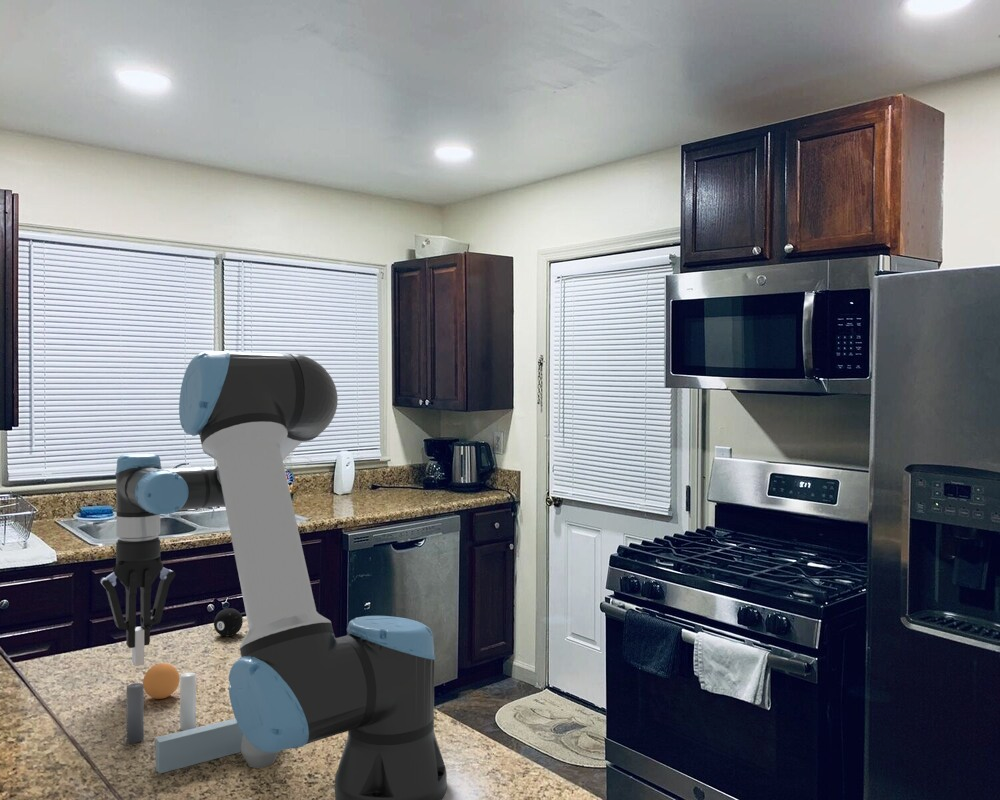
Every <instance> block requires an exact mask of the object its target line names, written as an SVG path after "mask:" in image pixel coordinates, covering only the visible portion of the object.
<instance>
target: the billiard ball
mask: <svg viewBox="0 0 1000 800" xmlns="http://www.w3.org/2000/svg"><path fill="white" fill-rule="evenodd" d="M243 619H244V618H243V615H242V614H241V612H240V611H239V610H237V609H236V608H232V607H231V608H229V607H228V608H224V609H222V610H220V611H218V613H217V614H216V616H215V617H214V619H213V620H214V621H213V626H214V627H213V628H214V630H215V632H216V633H217V634H218V635H220V636H223V637H231V636H234V635H236V634H237V633H240V630H241V628H242V627H243V623H244V622H243V621H244V620H243Z"/></svg>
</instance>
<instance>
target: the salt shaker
mask: <svg viewBox="0 0 1000 800" xmlns="http://www.w3.org/2000/svg"><path fill="white" fill-rule="evenodd" d="M240 753H241V755H242V757H243V758H244V760H245V762H246V763H247V765H248V767H249V768H256V769H263V768H267V767H269V766H272V765H273V764H274V763H275V761H276V759H277V757H278V755H279V753H280V751H278V752H274V753H267V752H263V751H261V750H259V749H257V748H255V747H254V746H253V745H252V744H251V743H250V742H249V740H248V739H246V737H245V736H244V734H243V738H242V743H241V752H240Z"/></svg>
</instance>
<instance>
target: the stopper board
mask: <svg viewBox="0 0 1000 800" xmlns="http://www.w3.org/2000/svg"><path fill="white" fill-rule="evenodd" d="M242 738H243V733H242V731H241V729H240V727H239V725H238V723H237V721H236V718H235V717H234V718H231V719H228V720H223V721H218V722H215V723H210V724H206V725H203V726H202V725H201V726H198V727H197V726H196V727H195V728H193V729H189V730H185V731H184V730H181V731H176V732H174V733H169V734H165V735H160V736H156V737H155V738H154V739H155V746H154V747H155V752H154V753H155V757H154V758H155V760H154V761H155V766H154V767H155V770H156V772H157V773H158V774H159V775H160V774H164V773H167V772H172V771H174V770H179V769H182V768H186V767H191V766H194V765H197V764H198V765H199V764H201V763H205V762H209V761H213V760H215V759H216V760H217V759H221V758H224V757H227V756H230V755H235V754H239V753H241V743H242Z"/></svg>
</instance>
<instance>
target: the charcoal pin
mask: <svg viewBox="0 0 1000 800" xmlns="http://www.w3.org/2000/svg"><path fill="white" fill-rule="evenodd" d="M144 692H145V690H144V685H143V682H142V683H140V682H136V683H130V684H128V685H127V686H126V743H128V744H130V743H131V744H132V743H133V744H137V743H138V744H139V743H140V741H141V742H143V741H142V740H144V735H145V734H144V731H145V730H144V727H145V726H144V724H145V723H144V713H145V711H144V708H145V706H144V703H145V702H144V701H145V700H144V697H145V696H144V694H145V693H144Z"/></svg>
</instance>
